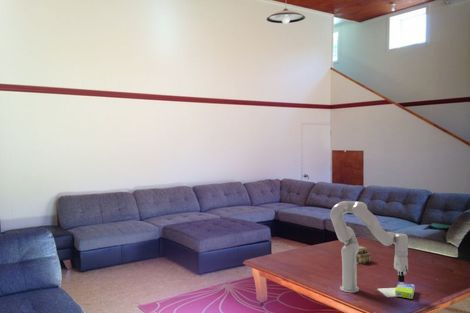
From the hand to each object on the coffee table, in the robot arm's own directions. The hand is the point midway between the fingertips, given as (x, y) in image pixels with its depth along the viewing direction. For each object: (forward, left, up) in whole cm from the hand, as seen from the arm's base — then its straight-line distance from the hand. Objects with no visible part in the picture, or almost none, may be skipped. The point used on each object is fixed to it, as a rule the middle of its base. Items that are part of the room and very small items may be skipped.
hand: (401, 281), depth 253 cm
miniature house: (-80, +6, -12) cm, 81 cm away
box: (+1, +1, -8) cm, 9 cm away
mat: (-10, 0, -11) cm, 15 cm away
